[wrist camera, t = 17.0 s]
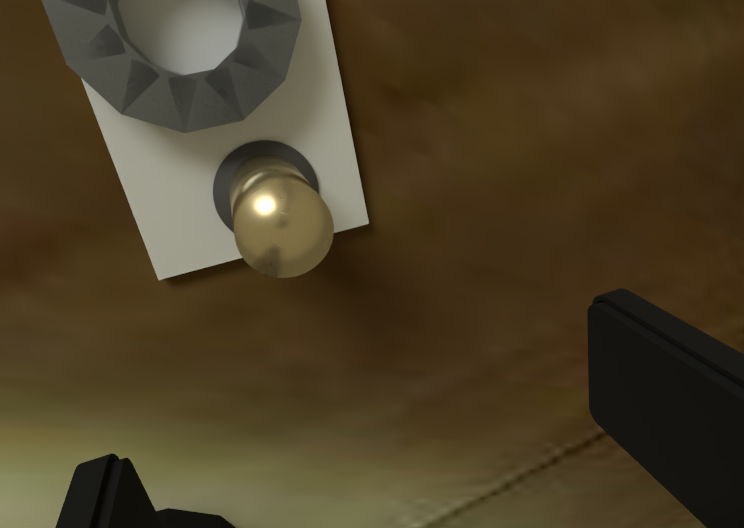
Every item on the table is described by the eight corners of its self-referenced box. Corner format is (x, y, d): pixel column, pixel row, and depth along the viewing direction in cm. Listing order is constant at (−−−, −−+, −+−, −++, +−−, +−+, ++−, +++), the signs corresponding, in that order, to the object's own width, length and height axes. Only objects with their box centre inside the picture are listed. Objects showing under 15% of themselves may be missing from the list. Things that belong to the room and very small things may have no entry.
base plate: (295, -136, 30) (298, -144, 29) (365, 219, 39) (370, 224, 38) (18, -99, 28) (9, -106, 26) (159, 274, 36) (158, 281, 35)
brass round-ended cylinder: (295, 145, 34) (322, 172, 26) (312, 217, 36) (342, 263, 28) (219, 163, 34) (221, 196, 25) (241, 235, 35) (249, 289, 27)
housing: (260, -132, 29) (264, -153, 26) (311, 100, 34) (319, 103, 31) (17, -100, 27) (-5, -119, 24) (110, 144, 32) (100, 151, 29)
